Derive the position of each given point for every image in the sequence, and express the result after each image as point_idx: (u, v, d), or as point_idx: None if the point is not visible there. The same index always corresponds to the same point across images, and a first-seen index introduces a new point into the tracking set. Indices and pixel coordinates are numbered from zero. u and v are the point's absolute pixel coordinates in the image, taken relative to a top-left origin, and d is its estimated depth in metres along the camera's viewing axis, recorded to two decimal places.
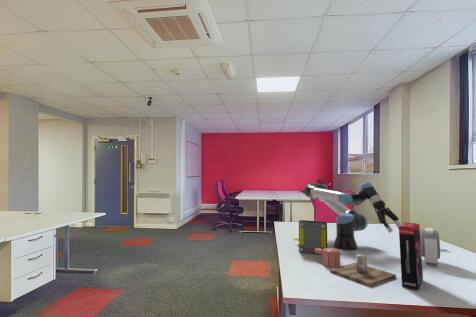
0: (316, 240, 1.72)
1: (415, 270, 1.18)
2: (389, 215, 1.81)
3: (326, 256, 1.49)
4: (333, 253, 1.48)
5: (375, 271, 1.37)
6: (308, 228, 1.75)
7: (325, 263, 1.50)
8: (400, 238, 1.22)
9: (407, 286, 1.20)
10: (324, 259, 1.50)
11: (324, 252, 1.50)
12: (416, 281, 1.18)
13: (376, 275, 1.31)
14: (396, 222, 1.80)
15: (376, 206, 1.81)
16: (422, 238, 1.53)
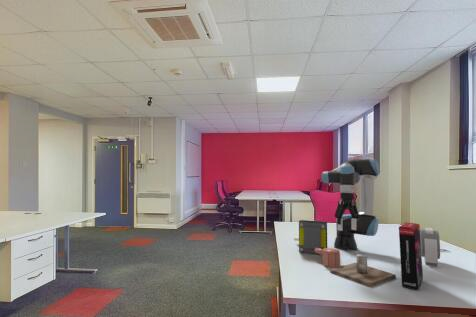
0: (316, 240, 1.72)
1: (415, 270, 1.18)
2: (351, 210, 1.55)
3: (326, 256, 1.49)
4: (333, 253, 1.48)
5: (375, 271, 1.37)
6: (308, 228, 1.75)
7: (325, 263, 1.50)
8: (400, 238, 1.22)
9: (407, 286, 1.20)
10: (324, 259, 1.50)
11: (324, 252, 1.50)
12: (416, 281, 1.18)
13: (376, 275, 1.31)
14: (353, 220, 1.56)
15: (343, 197, 1.52)
16: (422, 238, 1.53)
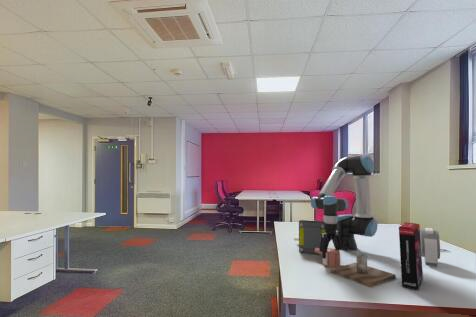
0: (316, 240, 1.72)
1: (415, 270, 1.18)
2: (334, 241, 1.54)
3: None
4: (333, 253, 1.48)
5: (375, 271, 1.37)
6: (308, 228, 1.75)
7: None
8: (400, 238, 1.22)
9: (407, 286, 1.20)
10: None
11: None
12: (416, 281, 1.18)
13: (376, 275, 1.31)
14: None
15: (325, 228, 1.52)
16: (422, 238, 1.53)
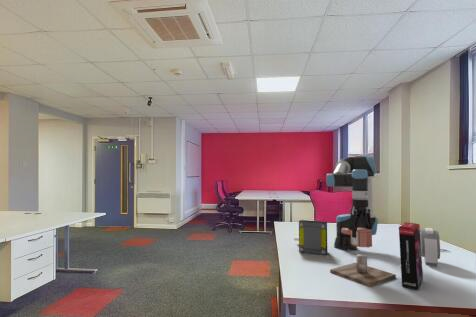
0: (316, 240, 1.72)
1: (415, 270, 1.18)
2: (364, 219, 1.39)
3: None
4: (364, 232, 1.33)
5: (375, 271, 1.37)
6: (308, 228, 1.75)
7: None
8: (400, 238, 1.22)
9: (407, 286, 1.20)
10: None
11: None
12: (416, 281, 1.18)
13: (376, 275, 1.31)
14: None
15: (355, 204, 1.37)
16: (422, 238, 1.53)
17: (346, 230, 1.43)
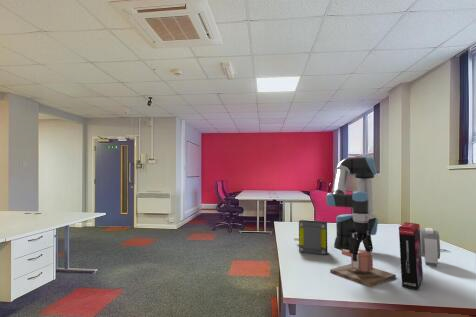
0: (316, 240, 1.72)
1: (415, 270, 1.18)
2: (364, 241, 1.39)
3: None
4: (365, 255, 1.32)
5: (375, 271, 1.37)
6: (308, 228, 1.75)
7: None
8: (400, 238, 1.22)
9: (407, 286, 1.20)
10: None
11: None
12: (416, 281, 1.18)
13: (376, 275, 1.31)
14: None
15: (356, 227, 1.36)
16: (422, 238, 1.53)
17: (346, 252, 1.42)
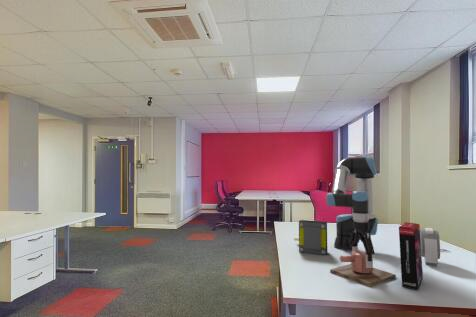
0: (316, 240, 1.72)
1: (415, 270, 1.18)
2: (357, 239, 1.41)
3: None
4: None
5: (375, 271, 1.37)
6: (308, 228, 1.75)
7: (366, 270, 1.31)
8: (400, 238, 1.22)
9: (407, 286, 1.20)
10: (365, 266, 1.32)
11: (364, 258, 1.32)
12: (416, 281, 1.18)
13: (376, 275, 1.31)
14: (355, 248, 1.43)
15: (364, 228, 1.34)
16: (422, 238, 1.53)
17: (348, 258, 1.35)
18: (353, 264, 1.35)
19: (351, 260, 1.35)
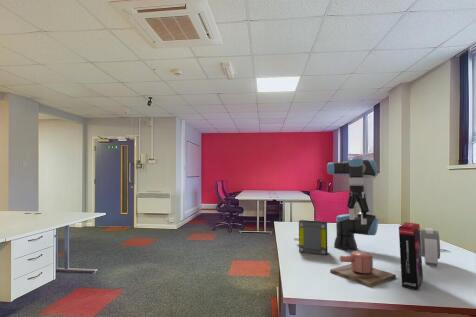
0: (316, 240, 1.72)
1: (415, 270, 1.18)
2: (353, 202, 1.57)
3: (367, 262, 1.32)
4: (371, 256, 1.34)
5: (375, 271, 1.37)
6: (308, 228, 1.75)
7: (366, 270, 1.31)
8: (400, 238, 1.22)
9: (407, 286, 1.20)
10: (365, 266, 1.32)
11: (364, 258, 1.32)
12: (416, 281, 1.18)
13: (376, 275, 1.31)
14: (351, 210, 1.60)
15: (359, 190, 1.50)
16: (422, 238, 1.53)
17: (348, 258, 1.35)
18: (353, 264, 1.35)
19: (351, 260, 1.35)
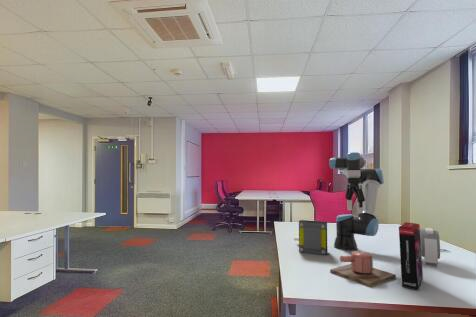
0: (316, 240, 1.72)
1: (415, 270, 1.18)
2: (351, 193, 1.70)
3: (367, 262, 1.32)
4: (371, 256, 1.34)
5: (375, 271, 1.37)
6: (308, 228, 1.75)
7: (366, 270, 1.31)
8: (400, 238, 1.22)
9: (407, 286, 1.20)
10: (365, 266, 1.32)
11: (364, 258, 1.32)
12: (416, 281, 1.18)
13: (376, 275, 1.31)
14: (349, 201, 1.72)
15: (356, 181, 1.63)
16: (422, 238, 1.53)
17: (348, 258, 1.35)
18: (353, 264, 1.35)
19: (351, 260, 1.35)
